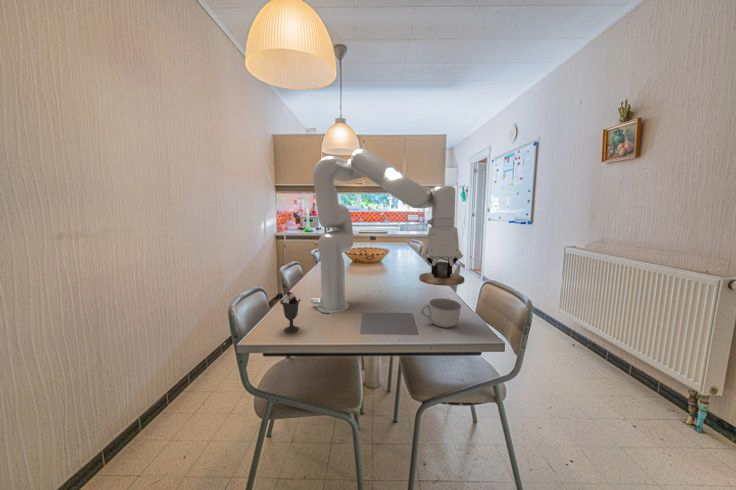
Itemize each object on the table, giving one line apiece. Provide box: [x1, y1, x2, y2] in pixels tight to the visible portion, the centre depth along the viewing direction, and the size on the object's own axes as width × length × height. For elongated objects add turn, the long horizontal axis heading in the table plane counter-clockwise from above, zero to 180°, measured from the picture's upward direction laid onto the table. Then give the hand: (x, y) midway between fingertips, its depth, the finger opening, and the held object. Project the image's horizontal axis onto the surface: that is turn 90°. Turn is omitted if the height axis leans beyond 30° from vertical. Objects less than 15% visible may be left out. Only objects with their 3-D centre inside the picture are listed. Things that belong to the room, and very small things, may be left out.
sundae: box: [279, 285, 302, 334], centre depth 96 cm, size 7×7×15 cm
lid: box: [418, 261, 465, 287], centre depth 99 cm, size 15×15×6 cm
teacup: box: [419, 297, 462, 329], centre depth 101 cm, size 14×11×8 cm
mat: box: [359, 311, 420, 336], centre depth 102 cm, size 19×19×1 cm
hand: (441, 275), depth 99 cm, fingers closed on lid, 4 cm apart
